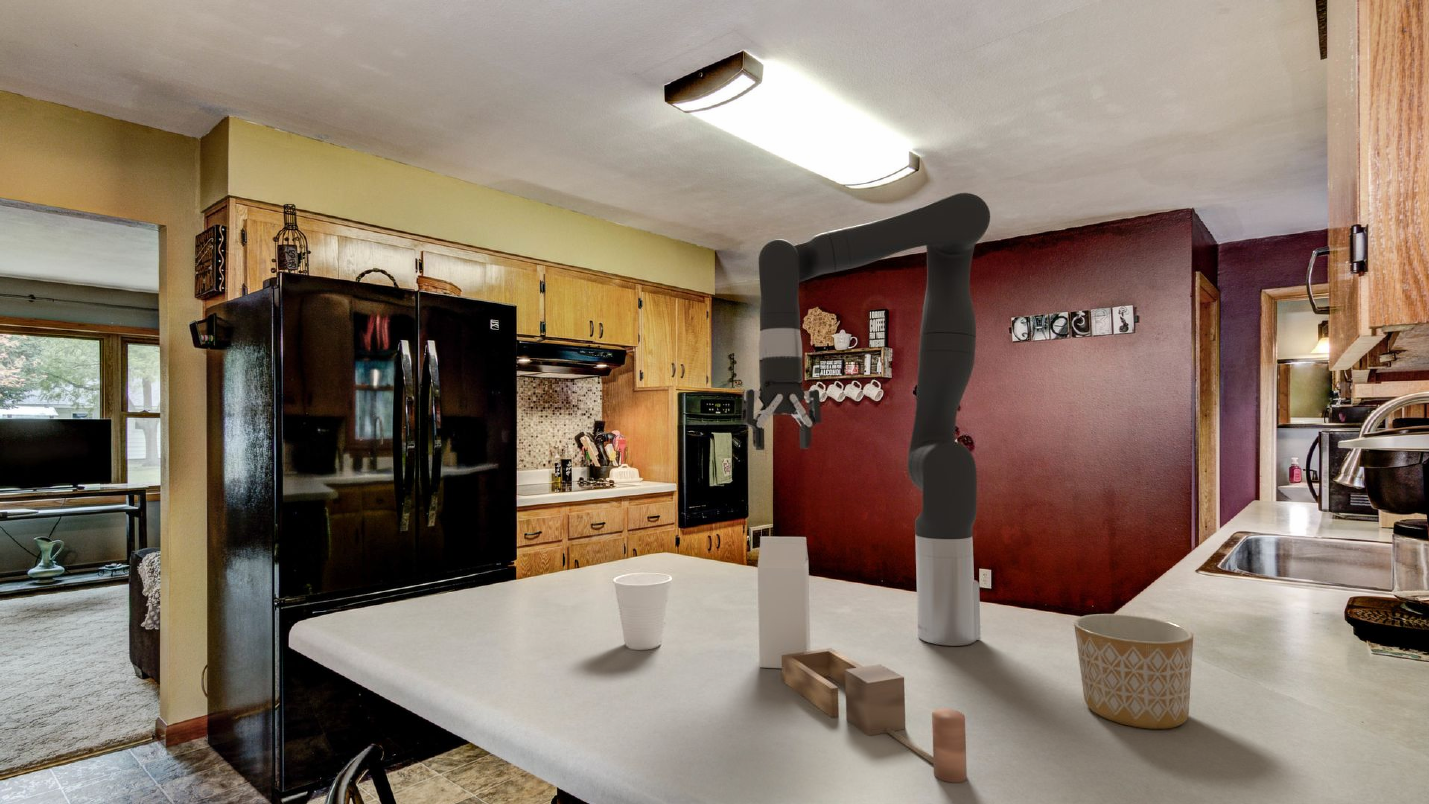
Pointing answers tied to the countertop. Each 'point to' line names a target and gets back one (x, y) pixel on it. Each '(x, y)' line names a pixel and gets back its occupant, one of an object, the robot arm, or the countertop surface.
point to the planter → (1135, 669)
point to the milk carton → (783, 599)
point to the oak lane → (817, 676)
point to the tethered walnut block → (882, 709)
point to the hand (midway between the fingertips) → (782, 449)
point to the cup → (642, 608)
